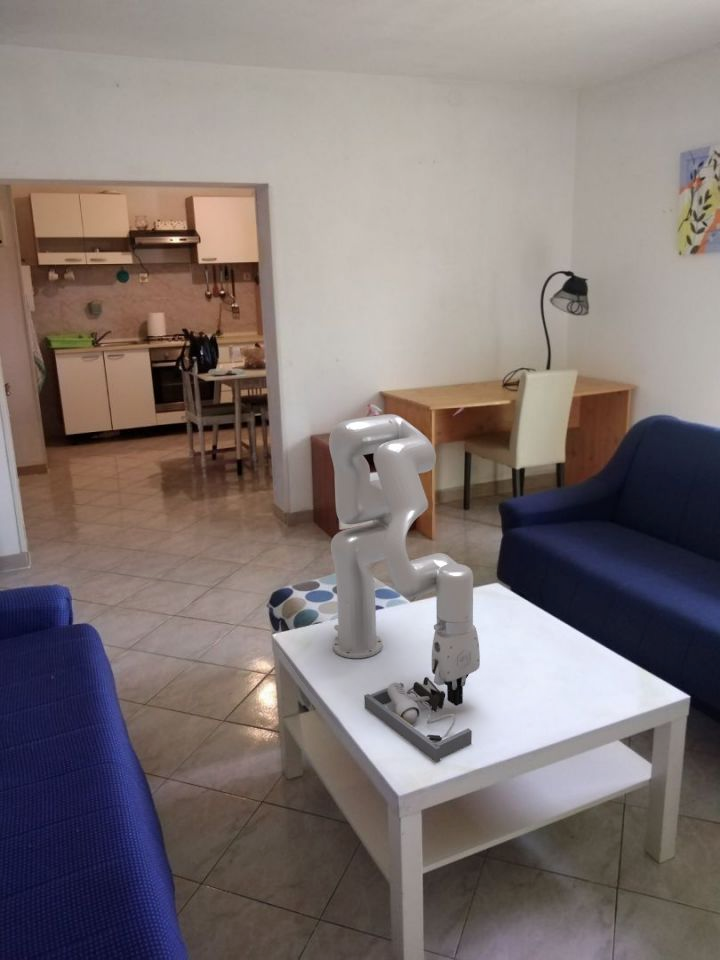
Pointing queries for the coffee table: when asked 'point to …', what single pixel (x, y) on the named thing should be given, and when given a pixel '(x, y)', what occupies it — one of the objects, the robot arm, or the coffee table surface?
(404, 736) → the grey u-shaped handle
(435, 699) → the clip-on lamp
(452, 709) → the coffee table surface
